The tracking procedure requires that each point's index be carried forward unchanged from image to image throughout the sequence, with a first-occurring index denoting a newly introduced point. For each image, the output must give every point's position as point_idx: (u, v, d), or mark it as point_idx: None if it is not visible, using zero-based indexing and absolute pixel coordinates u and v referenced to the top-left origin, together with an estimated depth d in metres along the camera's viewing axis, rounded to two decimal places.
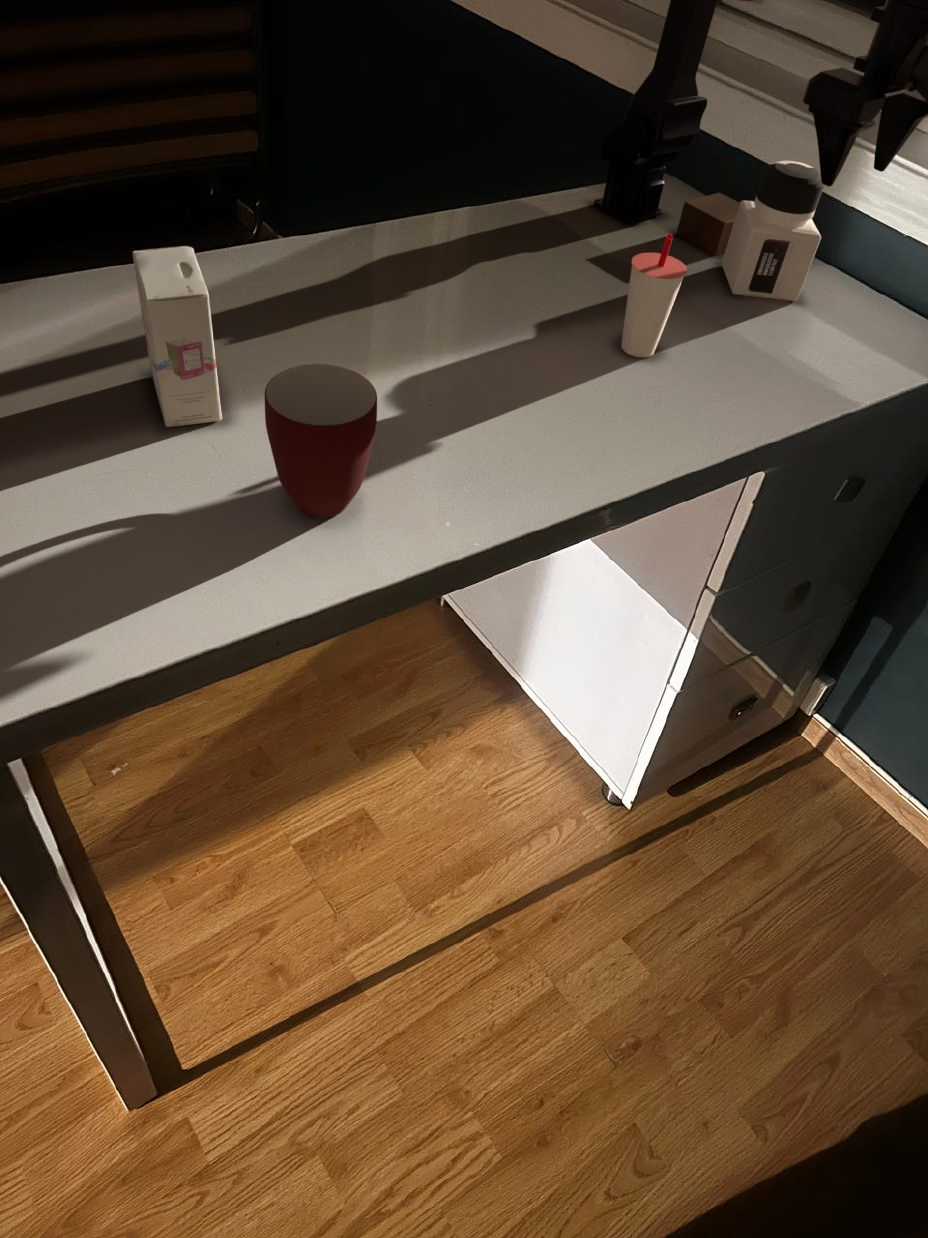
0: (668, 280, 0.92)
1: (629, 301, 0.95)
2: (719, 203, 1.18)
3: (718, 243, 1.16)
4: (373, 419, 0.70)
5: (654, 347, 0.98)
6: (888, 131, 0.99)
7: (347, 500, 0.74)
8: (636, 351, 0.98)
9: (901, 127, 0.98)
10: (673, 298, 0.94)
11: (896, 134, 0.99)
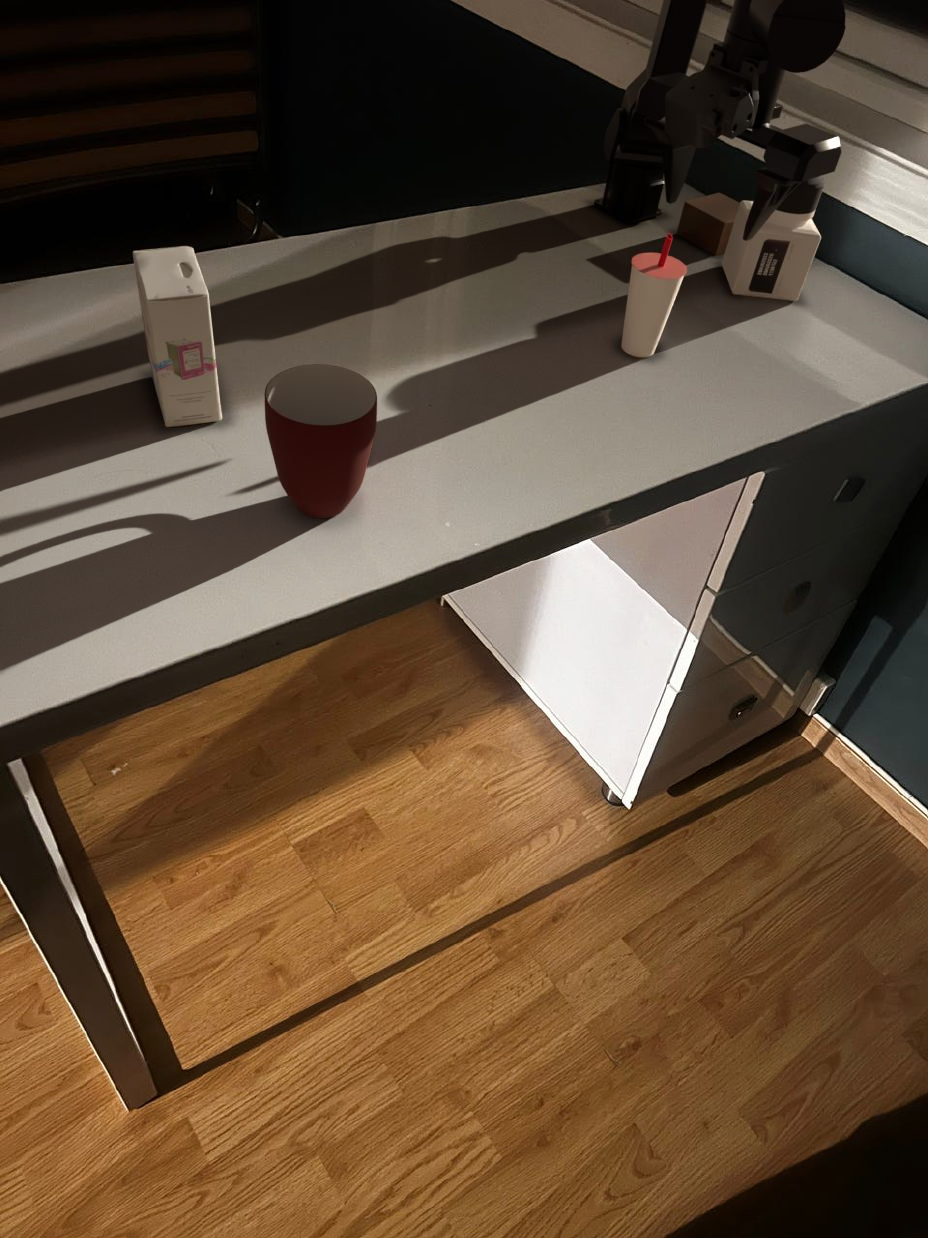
0: (668, 280, 0.92)
1: (629, 301, 0.95)
2: (719, 203, 1.18)
3: (718, 243, 1.16)
4: (373, 419, 0.70)
5: (654, 347, 0.98)
6: None
7: (347, 500, 0.74)
8: (636, 351, 0.98)
9: None
10: (673, 298, 0.94)
11: None
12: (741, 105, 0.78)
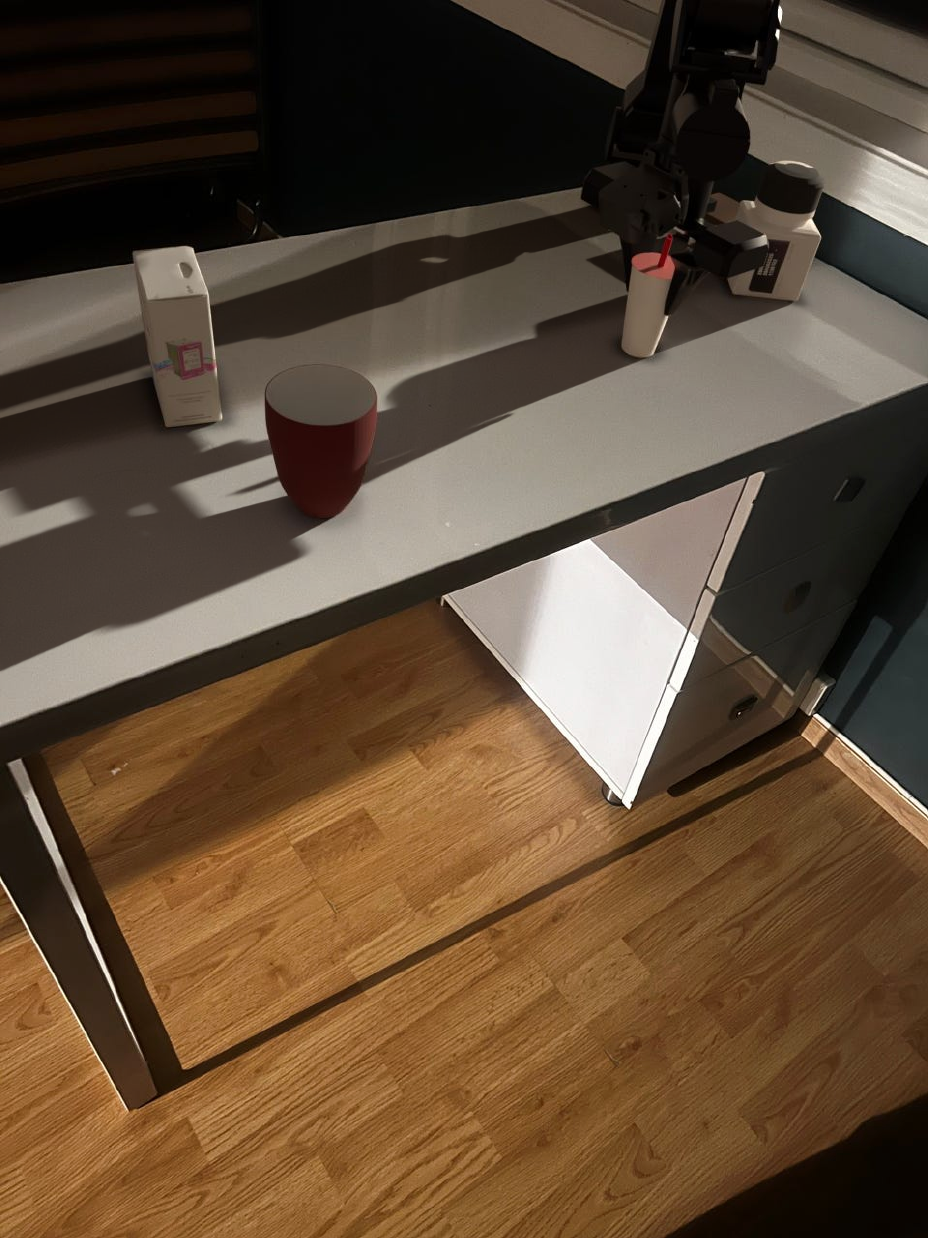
0: (668, 280, 0.92)
1: (629, 301, 0.95)
2: (719, 203, 1.18)
3: None
4: (373, 419, 0.70)
5: (654, 347, 0.98)
6: None
7: (347, 500, 0.74)
8: (636, 351, 0.98)
9: None
10: None
11: None
12: (666, 207, 0.82)
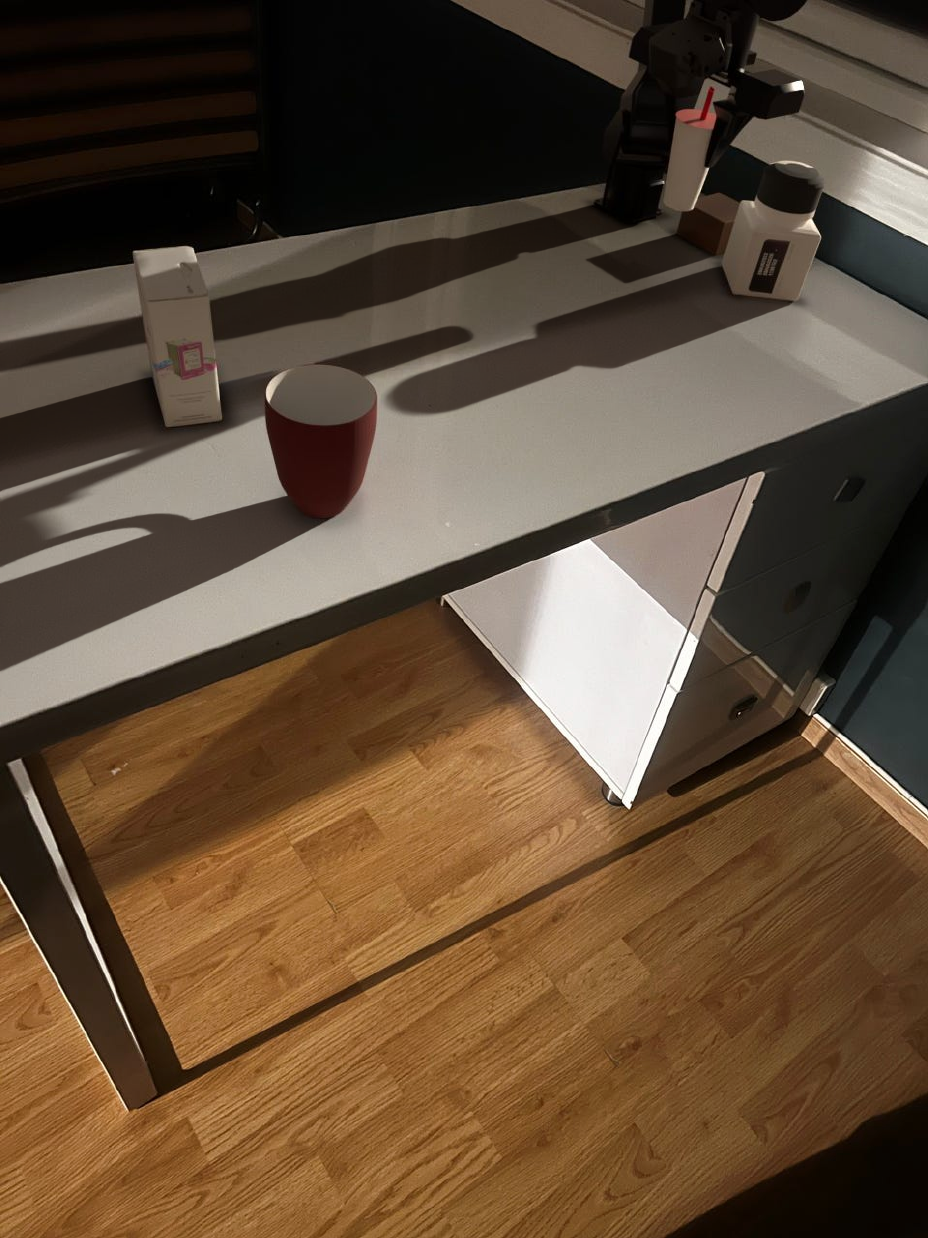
0: (709, 131, 0.99)
1: (672, 154, 1.03)
2: (719, 203, 1.18)
3: (718, 243, 1.16)
4: (373, 419, 0.70)
5: (694, 201, 1.06)
6: None
7: (347, 500, 0.74)
8: (677, 205, 1.05)
9: None
10: None
11: None
12: (712, 49, 0.89)
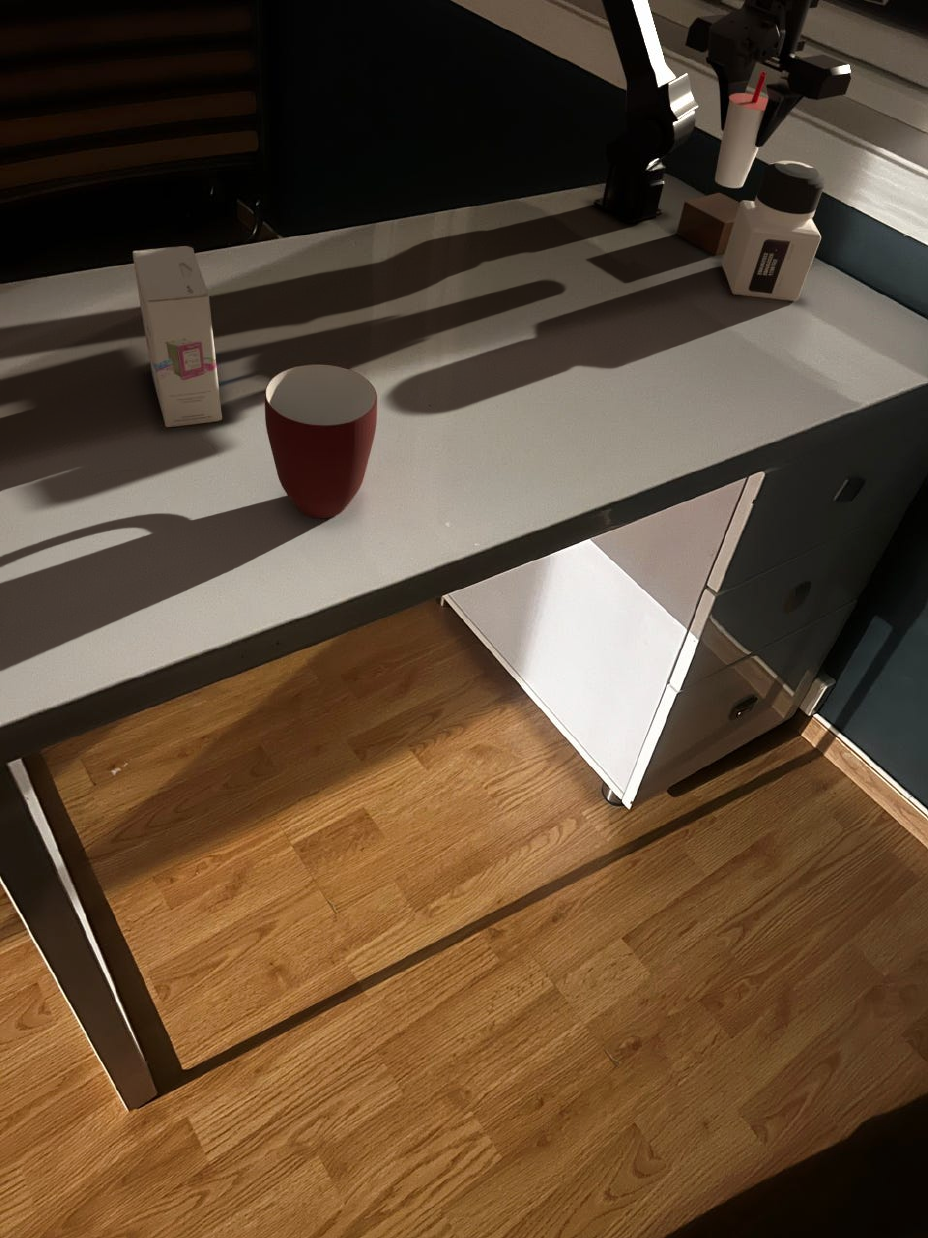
0: (761, 112, 1.08)
1: (725, 135, 1.11)
2: (719, 203, 1.18)
3: (718, 243, 1.16)
4: (373, 419, 0.70)
5: (744, 179, 1.14)
6: None
7: (347, 500, 0.74)
8: (729, 182, 1.14)
9: None
10: None
11: None
12: (769, 34, 0.98)
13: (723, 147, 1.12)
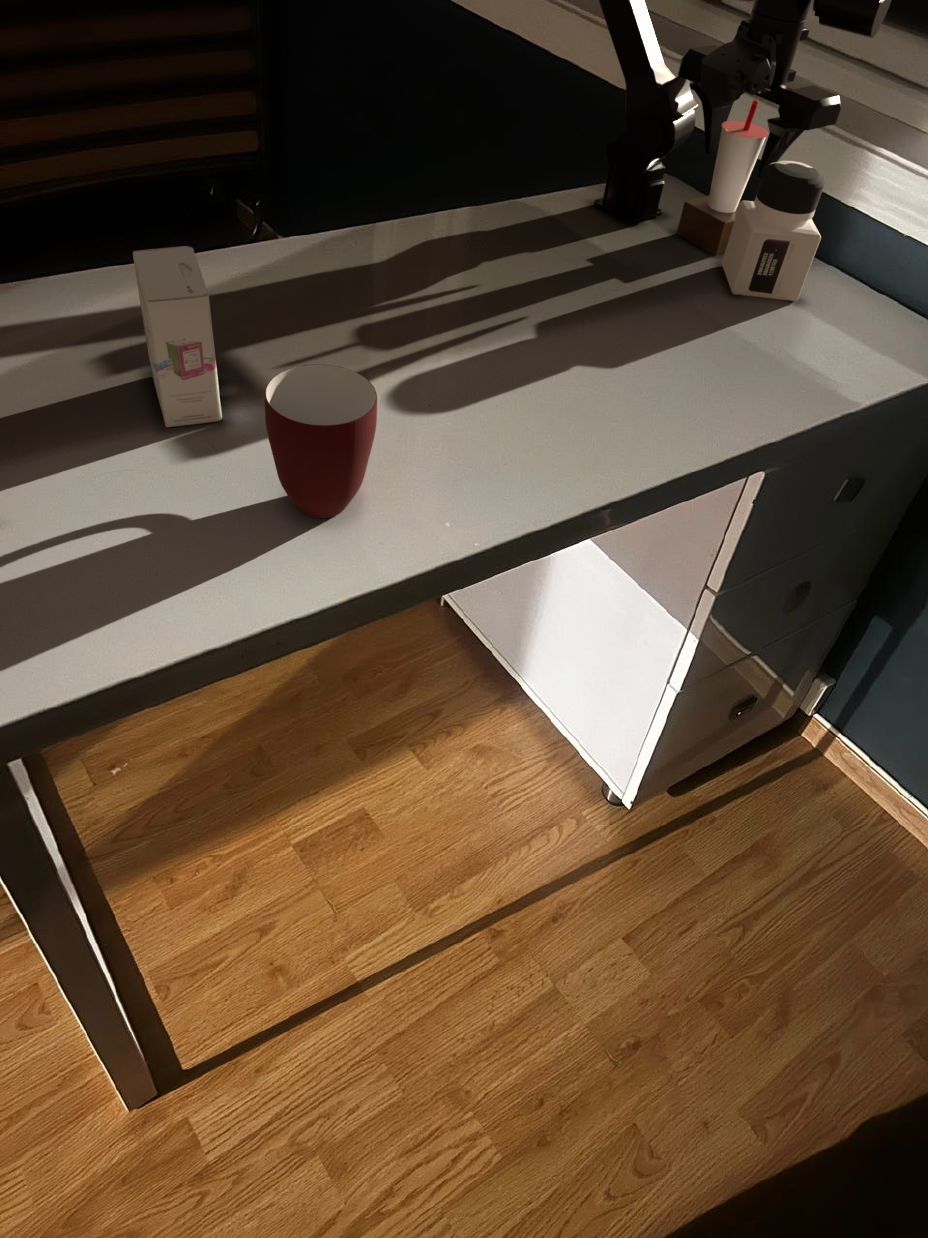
0: (753, 140, 1.10)
1: (718, 161, 1.13)
2: None
3: (718, 243, 1.16)
4: (373, 419, 0.70)
5: (737, 204, 1.16)
6: None
7: (347, 500, 0.74)
8: (721, 207, 1.16)
9: None
10: (756, 157, 1.12)
11: None
12: (760, 68, 1.00)
13: (716, 173, 1.14)
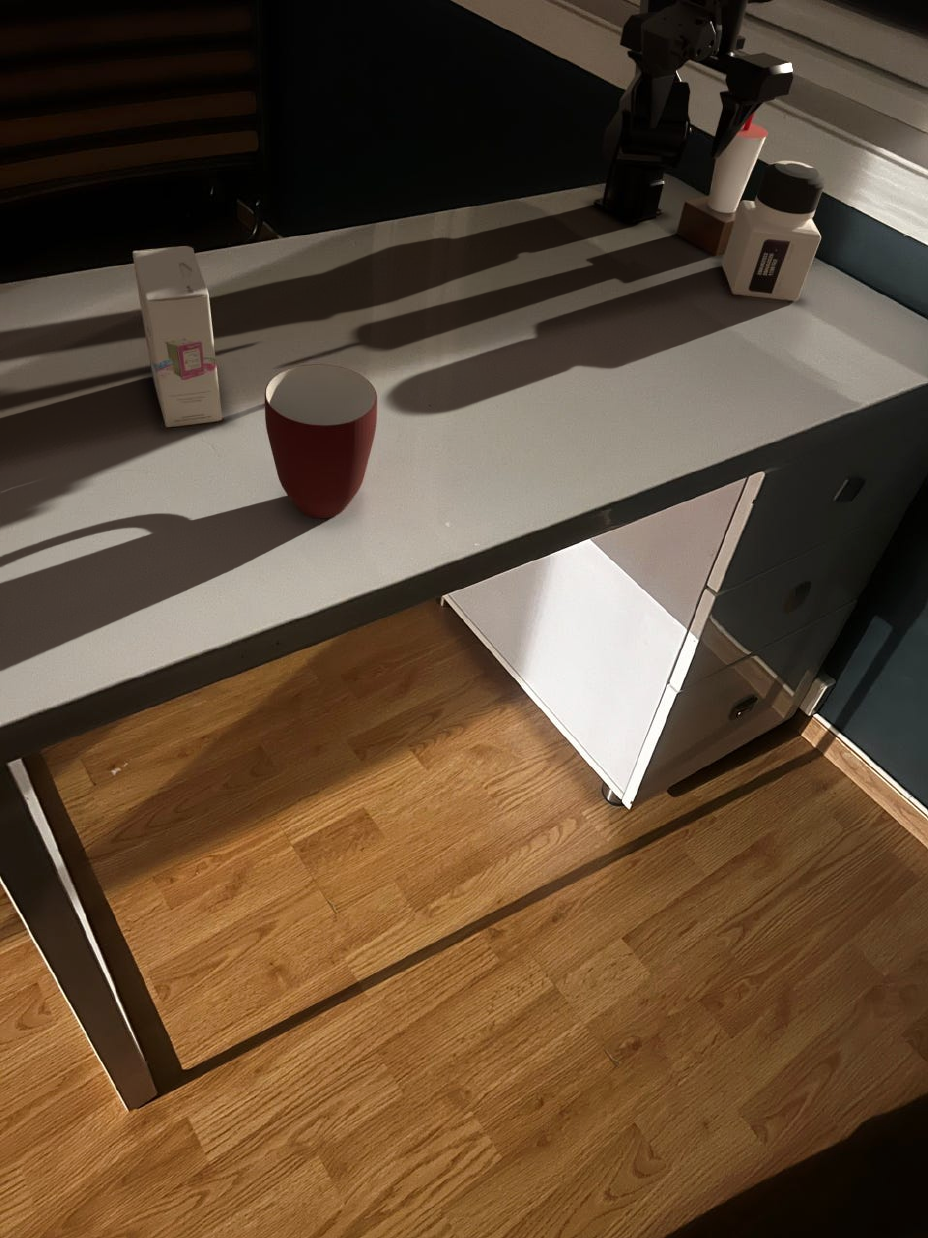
0: (753, 139, 1.10)
1: (718, 161, 1.13)
2: None
3: (718, 243, 1.16)
4: (373, 419, 0.70)
5: (736, 204, 1.16)
6: None
7: (347, 500, 0.74)
8: (721, 207, 1.16)
9: None
10: (755, 157, 1.12)
11: None
12: (704, 32, 0.92)
13: (716, 173, 1.14)
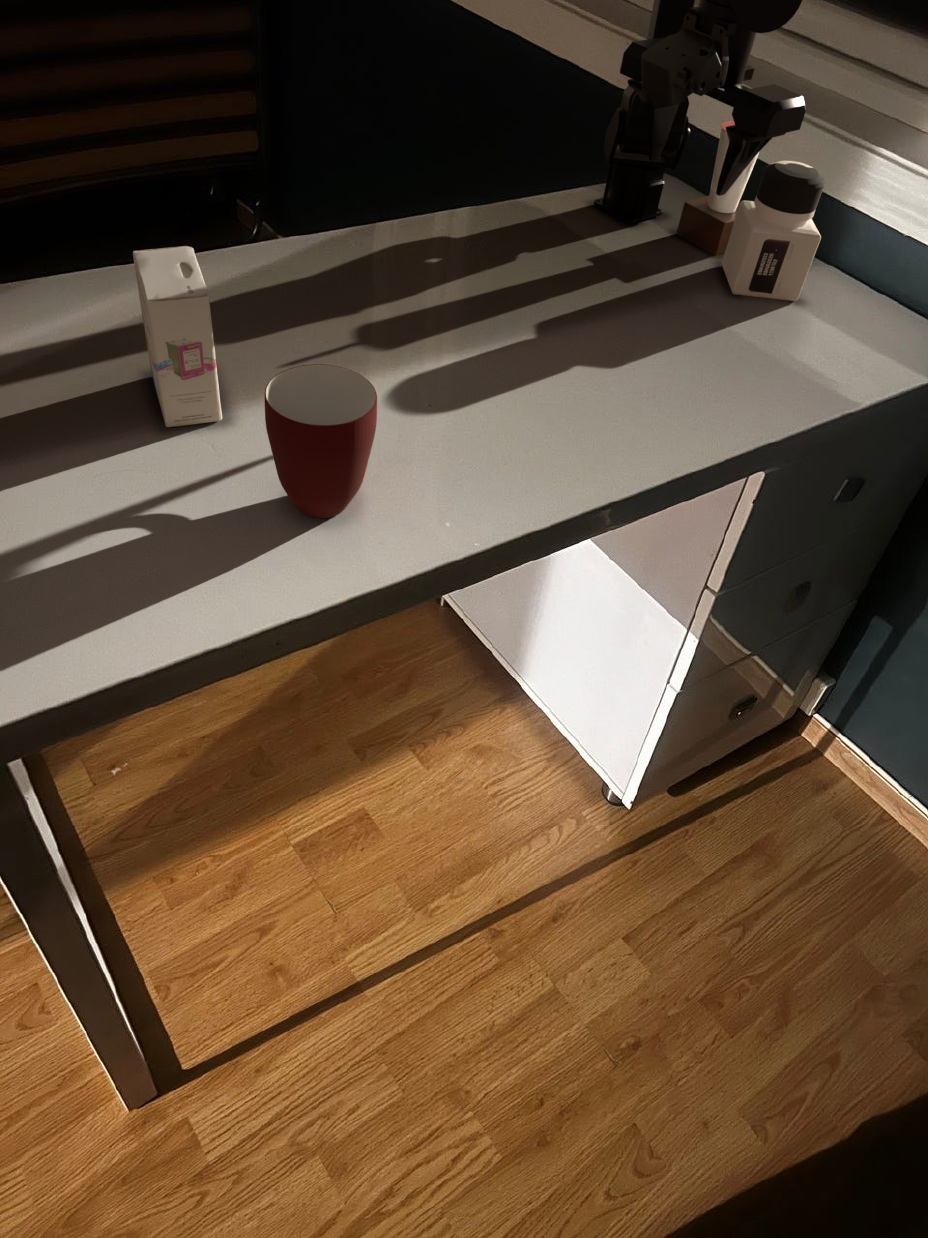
0: None
1: (717, 162, 1.13)
2: None
3: (718, 243, 1.16)
4: (373, 419, 0.70)
5: (736, 204, 1.16)
6: None
7: (347, 500, 0.74)
8: (721, 207, 1.16)
9: None
10: (755, 158, 1.12)
11: None
12: (708, 64, 0.85)
13: (716, 173, 1.14)
